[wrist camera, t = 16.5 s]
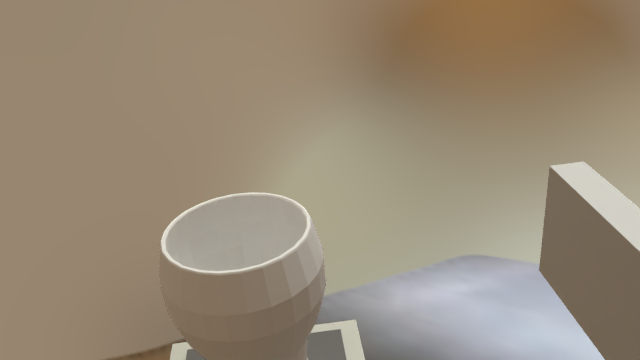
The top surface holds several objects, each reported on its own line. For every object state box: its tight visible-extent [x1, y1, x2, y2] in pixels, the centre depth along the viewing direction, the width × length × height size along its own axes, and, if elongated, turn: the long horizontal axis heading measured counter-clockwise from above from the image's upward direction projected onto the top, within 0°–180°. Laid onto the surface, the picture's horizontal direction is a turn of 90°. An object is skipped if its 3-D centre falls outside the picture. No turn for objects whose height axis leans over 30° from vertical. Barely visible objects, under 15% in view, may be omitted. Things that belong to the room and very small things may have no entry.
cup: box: [160, 193, 326, 360], centre depth 41 cm, size 11×11×15 cm
